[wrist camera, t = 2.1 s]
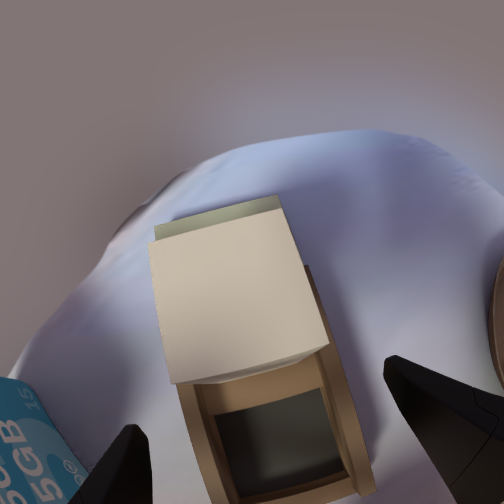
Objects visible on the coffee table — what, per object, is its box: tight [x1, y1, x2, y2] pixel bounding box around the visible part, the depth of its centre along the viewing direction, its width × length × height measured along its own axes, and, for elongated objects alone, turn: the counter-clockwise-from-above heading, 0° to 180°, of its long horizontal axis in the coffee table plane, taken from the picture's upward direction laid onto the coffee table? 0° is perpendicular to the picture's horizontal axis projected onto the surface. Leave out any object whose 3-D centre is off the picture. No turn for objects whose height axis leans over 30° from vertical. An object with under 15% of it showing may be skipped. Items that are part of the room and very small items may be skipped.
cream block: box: [148, 208, 329, 384], centre depth 14 cm, size 5×5×10 cm
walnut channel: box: [154, 195, 377, 504], centre depth 18 cm, size 23×10×4 cm, turn 15°
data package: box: [0, 377, 89, 504], centre depth 11 cm, size 12×4×12 cm, turn 46°
